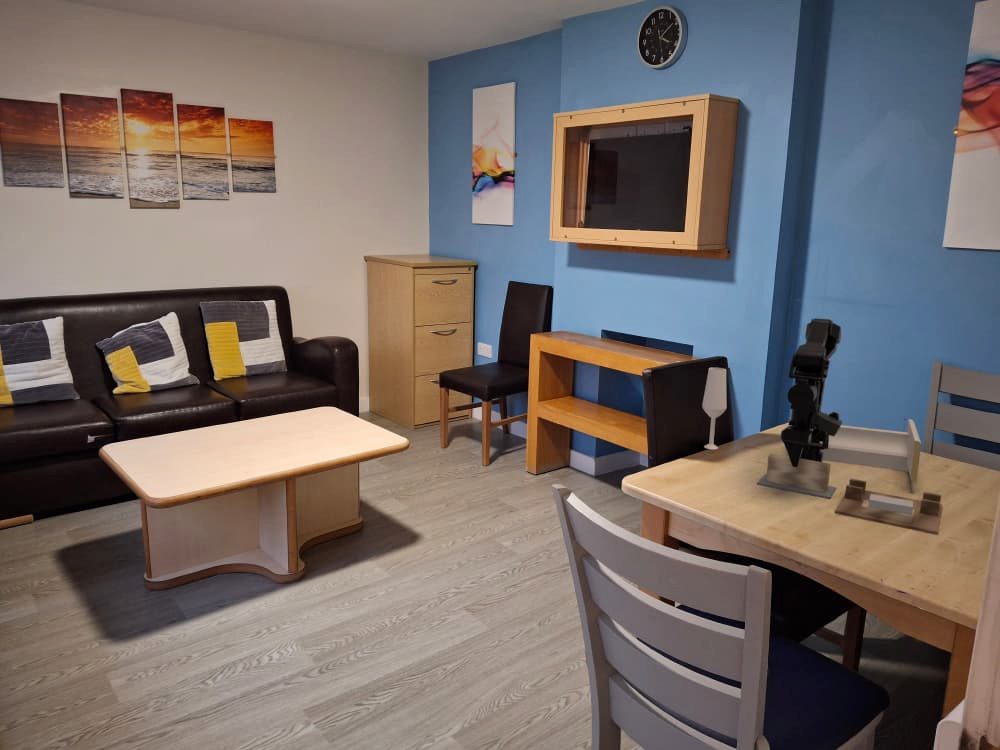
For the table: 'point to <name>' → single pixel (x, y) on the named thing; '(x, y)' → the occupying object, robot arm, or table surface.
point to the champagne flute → (715, 399)
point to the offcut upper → (891, 504)
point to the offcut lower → (885, 513)
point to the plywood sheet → (798, 473)
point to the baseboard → (913, 450)
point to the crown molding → (868, 447)
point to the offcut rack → (924, 510)
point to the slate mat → (797, 488)
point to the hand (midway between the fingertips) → (798, 462)
